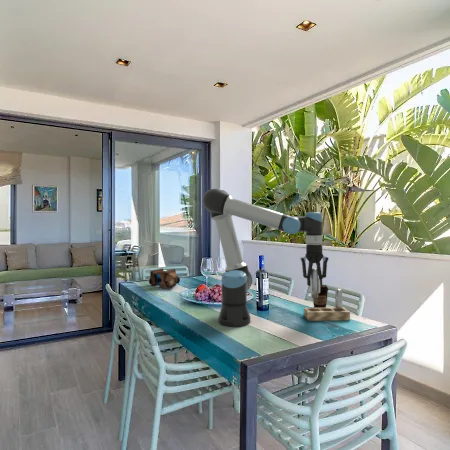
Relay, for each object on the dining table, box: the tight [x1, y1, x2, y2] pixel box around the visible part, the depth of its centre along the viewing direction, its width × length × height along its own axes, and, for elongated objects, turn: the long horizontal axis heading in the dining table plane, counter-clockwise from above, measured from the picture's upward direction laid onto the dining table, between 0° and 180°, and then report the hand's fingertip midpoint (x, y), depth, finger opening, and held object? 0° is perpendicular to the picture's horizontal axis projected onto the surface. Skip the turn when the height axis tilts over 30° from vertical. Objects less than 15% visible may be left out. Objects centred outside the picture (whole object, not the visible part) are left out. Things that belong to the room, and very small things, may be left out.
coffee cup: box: [312, 284, 329, 308], centre depth 182 cm, size 9×8×13 cm
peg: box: [310, 267, 319, 299], centre depth 167 cm, size 3×3×14 cm
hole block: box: [303, 306, 351, 322], centre depth 168 cm, size 20×8×4 cm, turn 91°
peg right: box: [334, 288, 343, 311], centre depth 168 cm, size 3×3×14 cm
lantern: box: [148, 268, 181, 289], centre depth 244 cm, size 16×16×25 cm
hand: (314, 292), depth 168 cm, fingers closed on peg, 3 cm apart
